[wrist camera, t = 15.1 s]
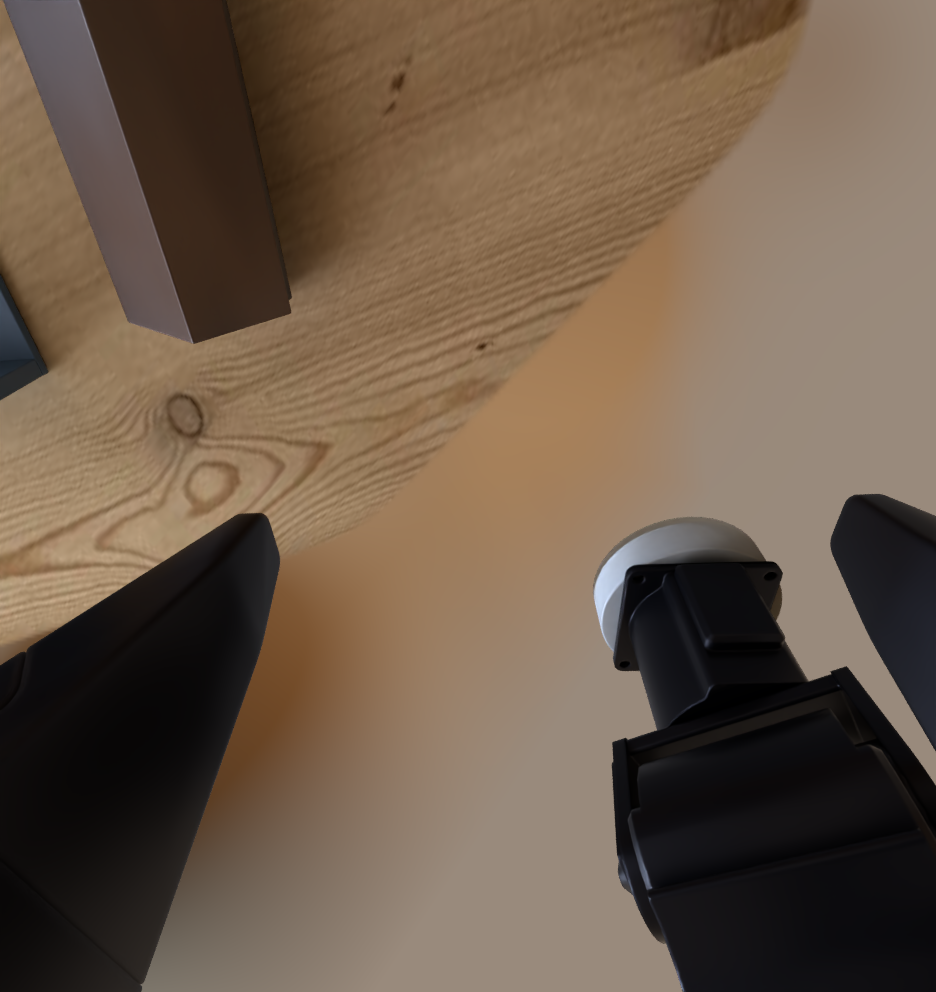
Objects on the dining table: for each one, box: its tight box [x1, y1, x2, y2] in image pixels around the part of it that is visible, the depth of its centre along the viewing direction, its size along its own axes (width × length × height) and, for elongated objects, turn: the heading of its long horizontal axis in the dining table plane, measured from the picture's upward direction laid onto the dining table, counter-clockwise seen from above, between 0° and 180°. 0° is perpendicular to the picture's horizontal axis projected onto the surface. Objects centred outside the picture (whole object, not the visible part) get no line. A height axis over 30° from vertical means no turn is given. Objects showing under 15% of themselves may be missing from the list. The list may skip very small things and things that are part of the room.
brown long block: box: [3, 0, 292, 344], centre depth 13 cm, size 12×4×4 cm
